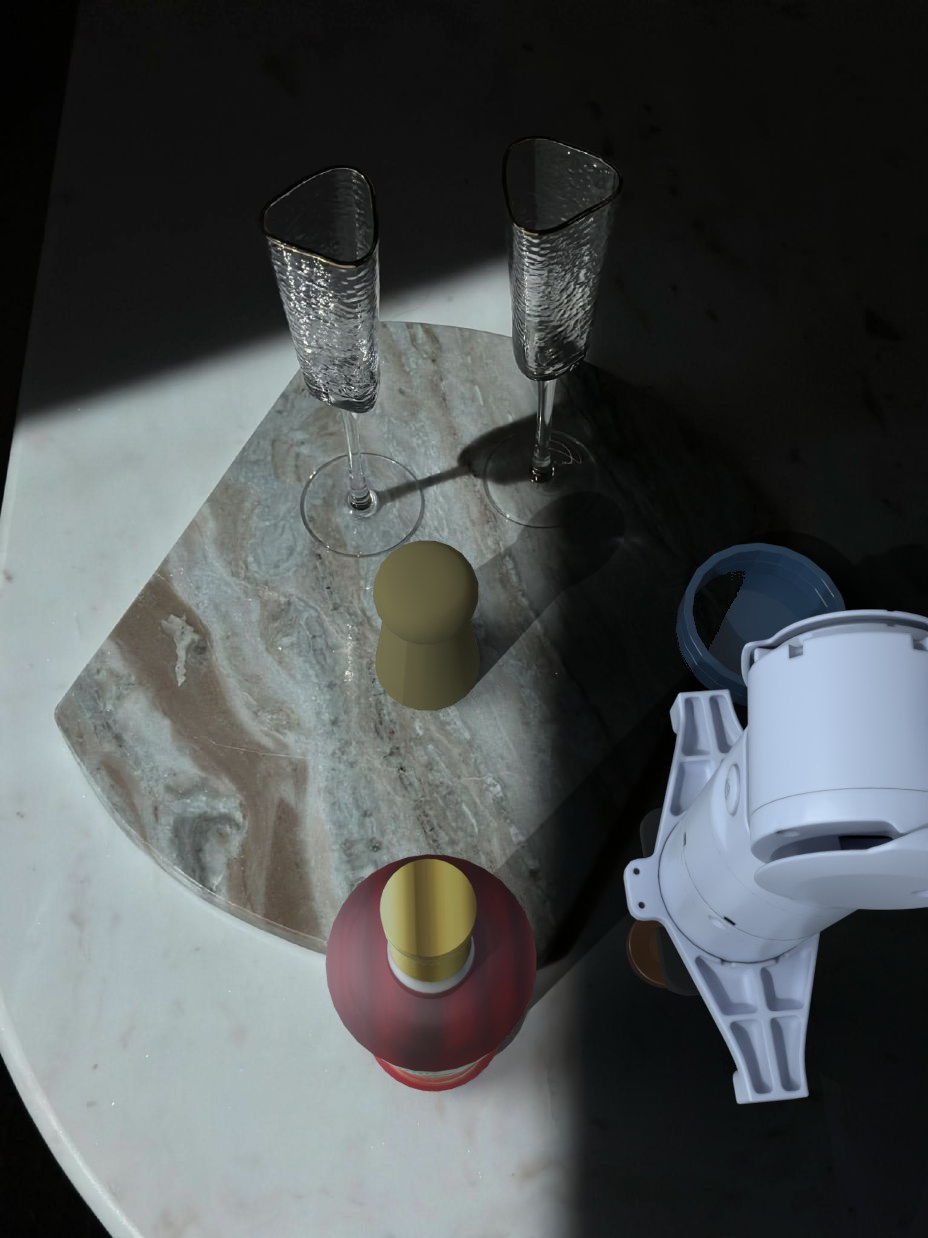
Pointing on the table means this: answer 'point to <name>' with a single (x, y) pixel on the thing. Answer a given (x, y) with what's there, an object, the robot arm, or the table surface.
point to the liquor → (431, 968)
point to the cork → (426, 625)
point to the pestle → (645, 952)
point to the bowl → (752, 609)
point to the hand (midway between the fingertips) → (688, 926)
